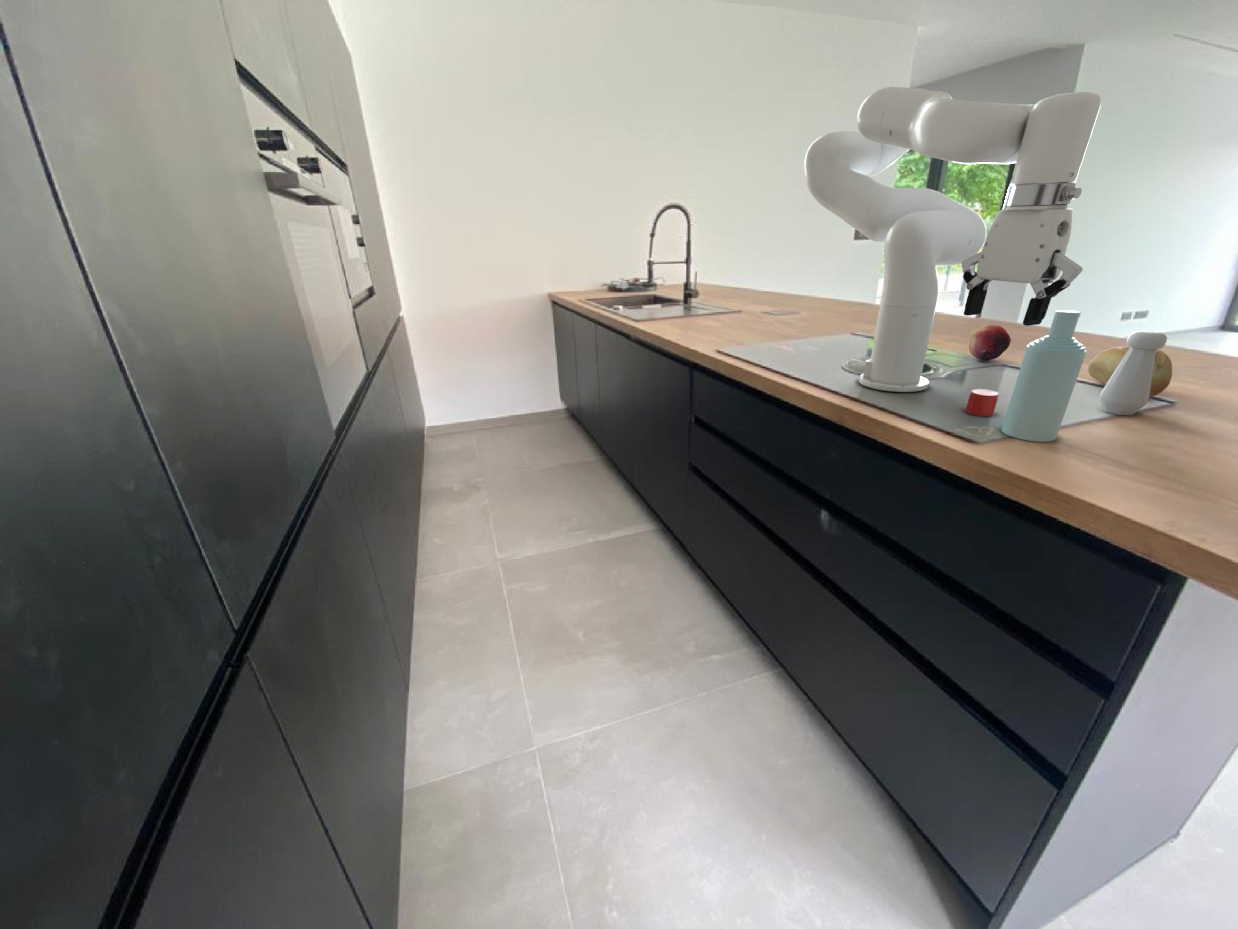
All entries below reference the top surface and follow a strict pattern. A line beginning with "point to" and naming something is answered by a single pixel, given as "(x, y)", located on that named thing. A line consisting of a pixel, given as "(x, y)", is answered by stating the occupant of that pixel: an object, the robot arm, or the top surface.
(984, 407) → the cap
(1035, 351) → the bottle
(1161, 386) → the potato
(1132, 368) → the salt shaker
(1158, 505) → the top surface
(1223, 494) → the top surface
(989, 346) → the fruit
